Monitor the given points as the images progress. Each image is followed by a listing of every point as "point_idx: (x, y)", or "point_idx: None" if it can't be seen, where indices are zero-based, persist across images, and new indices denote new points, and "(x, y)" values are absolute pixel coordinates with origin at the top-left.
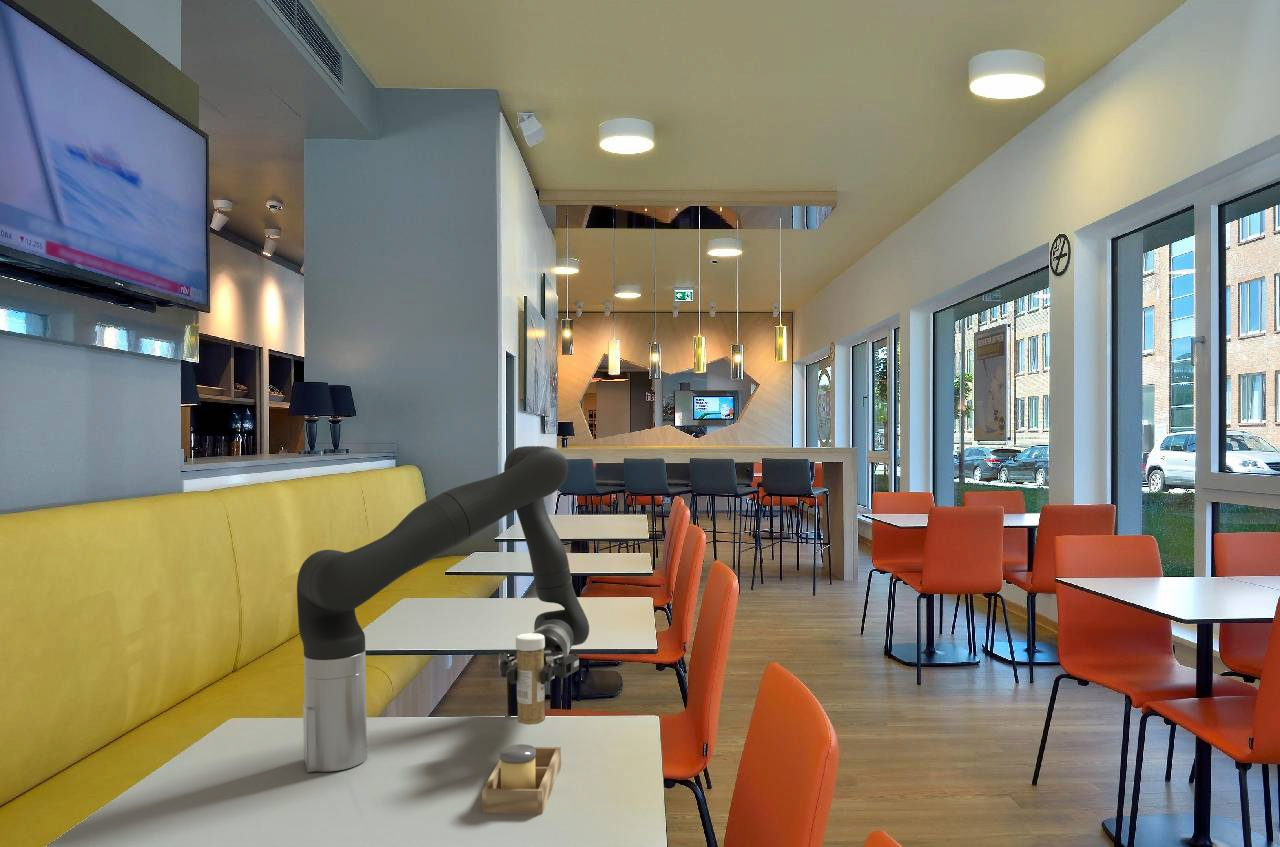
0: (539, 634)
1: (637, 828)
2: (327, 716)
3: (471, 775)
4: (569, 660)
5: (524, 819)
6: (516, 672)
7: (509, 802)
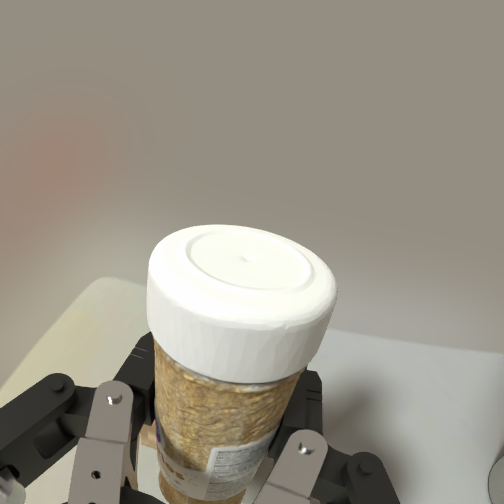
0: (180, 263)
1: (107, 285)
2: None
3: None
4: (17, 398)
5: None
6: None
7: None
